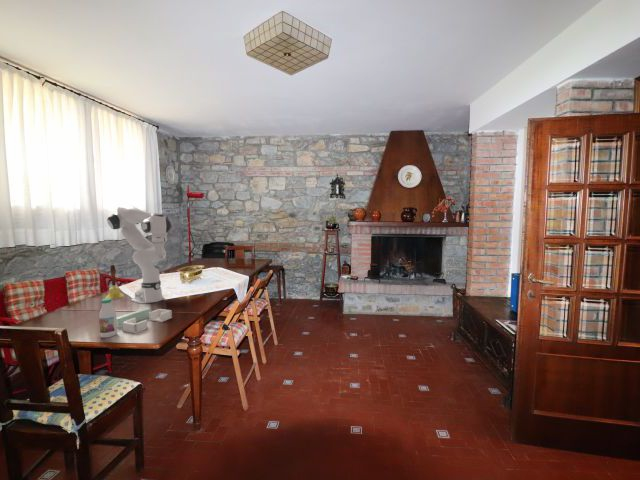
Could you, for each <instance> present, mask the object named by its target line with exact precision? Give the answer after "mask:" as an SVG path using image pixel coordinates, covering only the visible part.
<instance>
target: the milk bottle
mask: <svg viewBox="0 0 640 480" xmlns="http://www.w3.org/2000/svg"><path fill="white" fill-rule="evenodd" d="M100 302H101V309H100V311H99V315H98V323H99V336H100V338H103V339H105V338H112V337H115V336H116V335H118V328H117V320H116V317H117V312H116V310H115V308H114V307H113V305H112V303H113V299H111V298H106V299H105V298H103V299H101V301H100Z"/></svg>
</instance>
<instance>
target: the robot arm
mask: <svg viewBox="0 0 640 480" xmlns="http://www.w3.org/2000/svg"><path fill="white" fill-rule="evenodd" d="M116 210H117V211H116V213H113V214H111V215H109V216H108V217H107V220H106V222H107V225H108V226H109V227H110V228H111V229H112V230H119V229H121V231H120V232H121V233H122V236H123V238H124V239H125V240H126V242H127V243H128V244H129V245H130V246H131V248H133V250H135V251H134V252H133V254H132V261H133V263H134V264H136V265H137V266H139V268H140V270H141V274H142V282H141V283H140V285H141V287H140V288H138V289H137V290H136V291H135V293H134V297H133V298H130V299H131V302H134V303H137V304H138V303H139V304H150V303H157V302H160V301H162V300H164V295H163V291H162V287H161V283H162V282H161V280H160V279H161V278H160V270H159V269H158V268H156V267H155V265H154V264H155V263H158V262H162V261H163V260H165V259H166V257H167V251H166V249H165V244H166V242H168V232H169V231H170V230H171V228H172V222H171V221H170V220H169V218H168V217H166V216H165V214H162V213H152V214H151V212H146V211H144V210H141V209H140V208H137V207H135V206H134V205H131V204H127V203H123V204H120V205H119V206H118V207H117V209H116ZM139 224H140V228H141V230H142V232H144V233H145V234H151V241H150V240H149V239H147V238H146V236H144V234H143V233H142V232H141V231H140V230H139V229H138V227H137V226H136V225H139Z"/></svg>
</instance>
